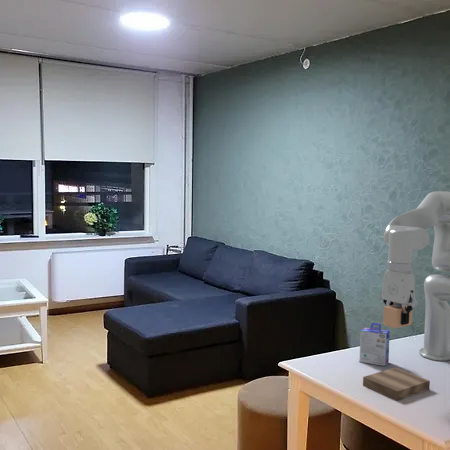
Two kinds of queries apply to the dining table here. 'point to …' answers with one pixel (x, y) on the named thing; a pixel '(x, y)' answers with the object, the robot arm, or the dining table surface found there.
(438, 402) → the dining table surface
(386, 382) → the wooden square tile
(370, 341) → the ink cartridge box
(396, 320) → the block
